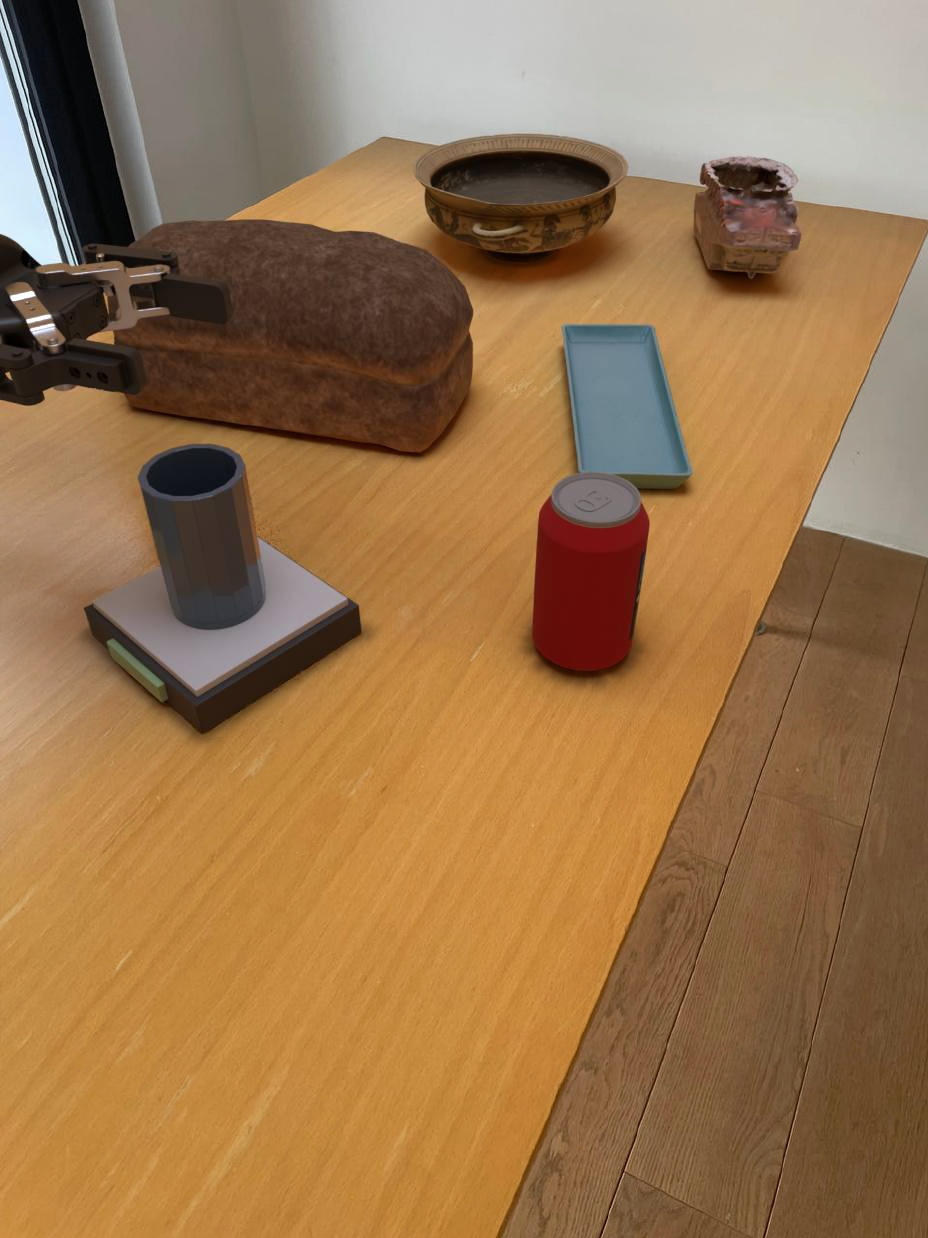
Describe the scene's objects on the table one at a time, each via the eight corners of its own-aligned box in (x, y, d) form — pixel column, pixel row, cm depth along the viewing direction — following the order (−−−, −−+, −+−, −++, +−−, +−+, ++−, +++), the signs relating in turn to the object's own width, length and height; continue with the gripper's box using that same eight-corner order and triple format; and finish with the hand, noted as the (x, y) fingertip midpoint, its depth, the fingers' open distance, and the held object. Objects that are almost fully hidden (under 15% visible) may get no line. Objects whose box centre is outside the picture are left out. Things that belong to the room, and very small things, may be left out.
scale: (195, 738, 62) (186, 703, 60) (85, 639, 68) (73, 604, 66) (361, 632, 69) (358, 598, 67) (247, 551, 76) (241, 518, 74)
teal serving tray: (690, 496, 81) (695, 469, 79) (576, 495, 81) (579, 469, 80) (651, 347, 101) (654, 323, 99) (559, 346, 101) (561, 323, 99)
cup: (207, 643, 63) (176, 513, 57) (152, 599, 67) (118, 471, 60) (285, 598, 67) (265, 470, 60) (229, 558, 70) (204, 432, 63)
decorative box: (799, 236, 123) (817, 152, 116) (818, 306, 108) (840, 214, 101) (689, 231, 124) (701, 148, 118) (693, 299, 109) (706, 208, 103)
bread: (439, 466, 84) (435, 282, 74) (105, 410, 92) (59, 235, 81) (487, 385, 95) (490, 214, 84) (184, 340, 102) (152, 177, 92)
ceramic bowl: (451, 200, 133) (450, 118, 126) (633, 215, 128) (642, 131, 122) (383, 293, 111) (377, 199, 104) (599, 315, 106) (608, 219, 100)
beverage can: (652, 645, 68) (676, 497, 60) (585, 695, 64) (602, 544, 56) (577, 598, 71) (590, 453, 64) (510, 643, 68) (515, 494, 60)
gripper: (-197, 277, 49) (87, 323, 45) (-3, 185, 59) (243, 216, 55) (-136, 415, 54) (125, 468, 50) (34, 308, 64) (262, 345, 60)
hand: (187, 336), depth 52 cm, fingers open, 8 cm apart
